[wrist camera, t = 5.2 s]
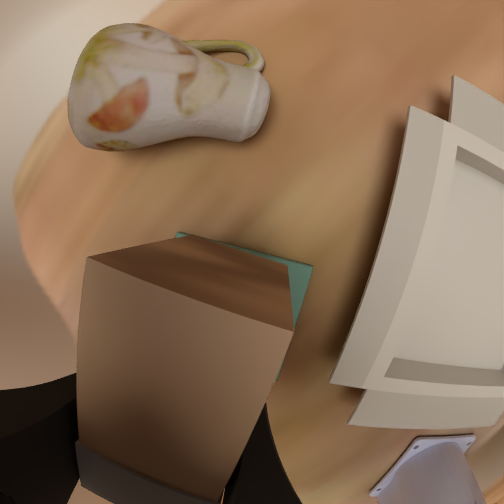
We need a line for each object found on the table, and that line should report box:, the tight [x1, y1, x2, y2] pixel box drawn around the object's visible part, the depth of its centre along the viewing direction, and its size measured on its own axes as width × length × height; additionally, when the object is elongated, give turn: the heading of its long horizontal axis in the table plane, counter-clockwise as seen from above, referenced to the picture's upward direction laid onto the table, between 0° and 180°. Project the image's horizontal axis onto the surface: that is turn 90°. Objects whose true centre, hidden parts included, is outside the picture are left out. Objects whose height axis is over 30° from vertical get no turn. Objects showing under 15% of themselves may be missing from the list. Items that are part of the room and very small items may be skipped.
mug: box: [68, 23, 271, 151], centre depth 13 cm, size 8×10×10 cm
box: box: [75, 235, 294, 504], centre depth 9 cm, size 4×8×7 cm, turn 163°
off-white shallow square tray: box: [329, 75, 504, 429], centre depth 14 cm, size 21×19×3 cm
